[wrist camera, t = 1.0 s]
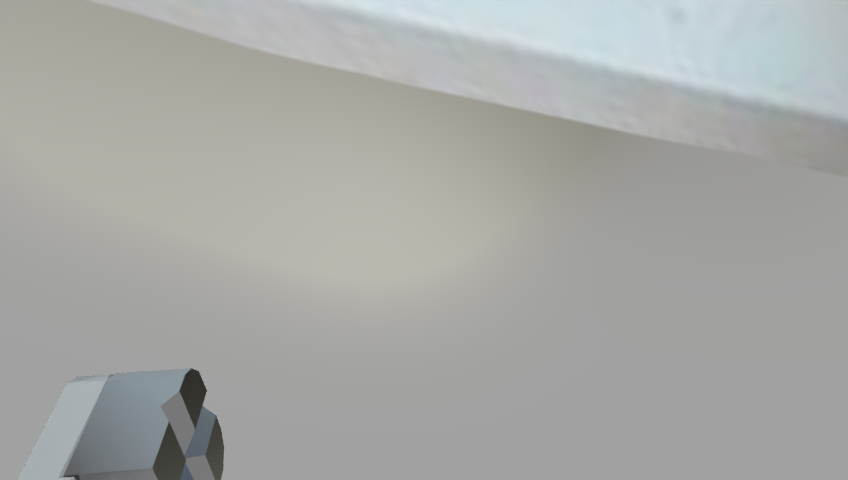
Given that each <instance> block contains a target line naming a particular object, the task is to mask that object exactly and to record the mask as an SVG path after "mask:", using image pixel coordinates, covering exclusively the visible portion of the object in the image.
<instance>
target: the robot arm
mask: <svg viewBox="0 0 848 480" xmlns="http://www.w3.org/2000/svg"><path fill="white" fill-rule="evenodd" d="M206 392H207V390H206V387H205V385H204V382H203V380H202V378H201V375H200V373H199V371H197V370H194V369H191V368H189V369H174V370H158V371H142V372H127V373H115V374H110V375H93V376H77V377H75V378H74V379H73V380H71V381H70V382H68V383H67V385H66V386H65V388H64V390H63V392H62V394H61V396H60V398H59V400H58V401H57V403H56V405H55V407H54V409H53V411H52V413H51V415H50V417H49V419H48V421H47V423H46V425H45V427H44V429H43V430H42V432H41V434H40V436H39V438H38V440H37V442H36V444H35V446H34V448H33V450H32V452H31V454H30V456H29V458H28V459H27V461H26V464H25V465H24V467H23V469H22V471H21V473H20V475H19V477H18V479H17V480H221V476H222V473H223V458H224V445H223V438H222V432H221V428H220V425H219V422H218V419H217V416H216V415H215V414H213V413H212V412H210V411H209V410H208V409H206V408H205V407H203V406H202V405H203V402H204V398H205V395H206Z"/></svg>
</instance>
